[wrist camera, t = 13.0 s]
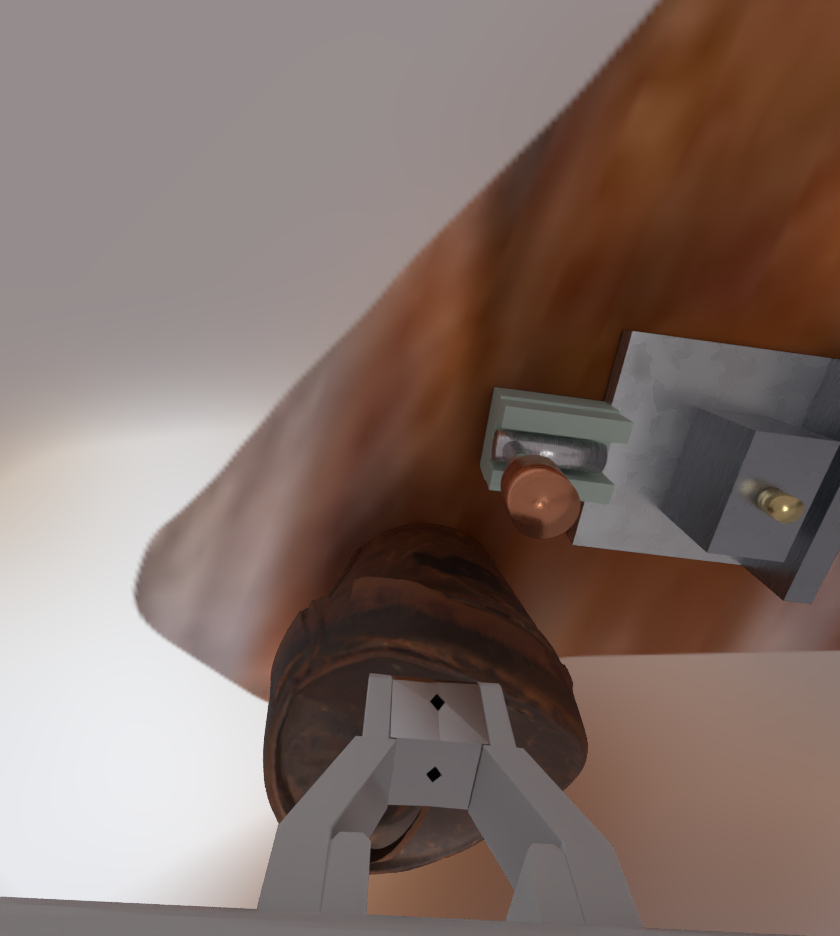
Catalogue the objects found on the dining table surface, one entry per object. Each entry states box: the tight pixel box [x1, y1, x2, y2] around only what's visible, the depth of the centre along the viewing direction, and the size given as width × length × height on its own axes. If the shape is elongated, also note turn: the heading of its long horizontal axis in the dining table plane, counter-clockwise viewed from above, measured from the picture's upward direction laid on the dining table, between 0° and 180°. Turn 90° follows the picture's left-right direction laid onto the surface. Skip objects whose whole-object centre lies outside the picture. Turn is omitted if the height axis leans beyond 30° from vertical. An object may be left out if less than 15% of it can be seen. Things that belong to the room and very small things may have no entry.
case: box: [263, 524, 588, 875], centre depth 31 cm, size 18×20×18 cm
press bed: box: [567, 330, 840, 604], centre depth 31 cm, size 16×16×6 cm
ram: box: [492, 430, 608, 539], centre depth 26 cm, size 8×3×10 cm, turn 83°
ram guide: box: [480, 387, 634, 505], centre depth 31 cm, size 8×6×5 cm
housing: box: [661, 407, 840, 562], centre depth 29 cm, size 5×8×8 cm, turn 173°
